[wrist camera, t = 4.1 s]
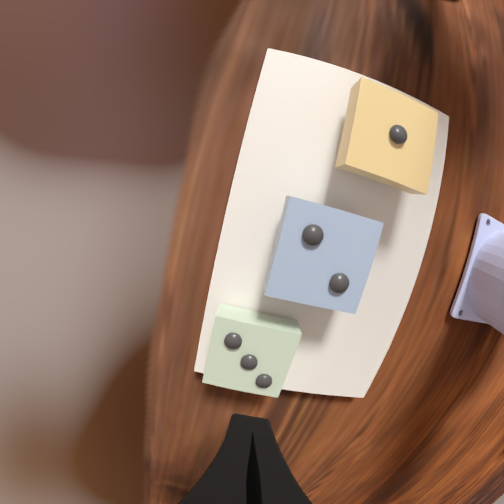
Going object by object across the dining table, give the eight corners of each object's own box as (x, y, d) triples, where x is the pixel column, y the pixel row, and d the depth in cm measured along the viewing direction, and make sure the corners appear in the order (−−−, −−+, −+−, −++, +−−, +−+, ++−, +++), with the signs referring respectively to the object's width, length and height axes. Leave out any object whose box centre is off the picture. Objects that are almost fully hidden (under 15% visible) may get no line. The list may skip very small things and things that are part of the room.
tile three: (297, 320, 16) (302, 336, 14) (276, 380, 17) (278, 399, 15) (219, 303, 16) (214, 317, 14) (206, 366, 16) (201, 384, 15)
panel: (439, 119, 14) (458, 113, 12) (358, 388, 18) (367, 407, 16) (267, 57, 14) (268, 39, 12) (197, 361, 18) (190, 380, 16)
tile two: (370, 219, 13) (385, 223, 12) (345, 301, 14) (356, 315, 12) (286, 195, 13) (290, 196, 11) (263, 283, 14) (264, 296, 12)
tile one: (422, 119, 12) (440, 111, 10) (410, 193, 13) (429, 194, 11) (350, 88, 12) (362, 75, 10) (334, 167, 13) (346, 163, 11)
